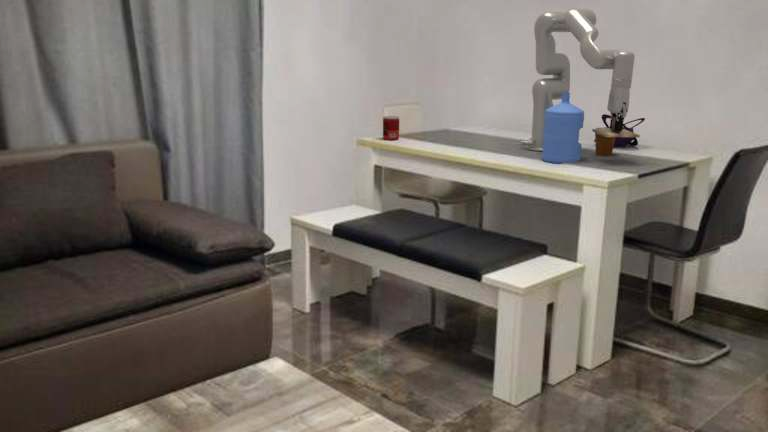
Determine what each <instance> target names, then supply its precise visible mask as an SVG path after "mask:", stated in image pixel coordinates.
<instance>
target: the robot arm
mask: <svg viewBox="0 0 768 432" xmlns="http://www.w3.org/2000/svg"><path fill="white" fill-rule="evenodd" d="M596 23H597V16H596V14H595V12H594V11H593V10H591V9H588V8H571V9H569V10H567V11H545V12H543V13H541V14H540V15H538V17H537V18H536V20H535V22H534V29H533V31H534V32H533V33H534V39H535V70H536V73H537V74H539V75H541V76H552V77H548V78H547V77H546V78H540V79H537V80H536V81H535V82H534V83H533V85H532V88H531V92H532V103H533V106H532V108H533V109H532V125H531V137H530V138H529V139H527V140H520V145H521V146H527V150H530V151H535V152H543V141H544V140H543V136H544V126H545V112H546V109H548V108H550V107H553V106H555V105H554V102H553V101H556V100H557V101H558V100H562V92H569V93H570V88H571V63H570V60H569V58H568V56H567V55H566V54H565V53H561V52H556V41H555V38H554V37H555V36H554V35H553V34H552V33H570V34H572V35H573V37H575V39H576V40H577V41H578V42H579V51H580V55H581V56H582V58H583V60H584V61H585V62H586V63H587V64H588V65H589V66H590V68H592V69H594V70H612V76H611V83H610V84H611V85H610V91H609V94H608V96H609V97H608V101H607V108H606V109H607V111H608V112H610V116H611V119H610V123H609V127H610V129H611V128H612V119H613V117H616V121H615V127H614V131H622V129H623V124H624V122H625V118H626V116H628V115H627V113H628V112H629V106H630V95H631V94H630V89H631V88H632V81H633V72H634V63H635V54H634V52H630V51H620V50H616V49H599V47H597V46H596V45H595V43H594V42H595V40H597V39H598V36H599V30H598V28H597V27H596ZM619 112H622V113H619Z"/></svg>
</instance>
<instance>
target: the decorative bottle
mask: <svg viewBox="0 0 768 432" xmlns="http://www.w3.org/2000/svg"><path fill="white" fill-rule="evenodd" d="M619 113H622V112H619ZM607 119H610V120H611V114H607V113H603V114H602V115H601V120H602V122H603V124H604V125H605V127H604V128H610V125H609V123H608V122H607ZM645 120H646V118H645V117H642V118H641V117H640V118H637V119H633V120H631V121H630V120H629V121H628V122H626V123H623V129H625V130H628V131H630V132H633V133H635V132H634V128H635V127H637V126H639V125H640V124H641V123H643V122H644V121H645ZM638 121H639V122H638ZM633 122H638V123H636V124H635V125H633V126H631V127H627V125H628V124H630V123H633ZM637 138H638V137H616V138H615V142H614V147H613V148H619V147H621V148H626V147H627V146H628V145H630V146H633V147H636V146H638V144H639V142H638V139H637ZM593 142H594V143H596V141H595V139H594V140H593Z"/></svg>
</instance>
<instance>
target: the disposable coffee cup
mask: <svg viewBox="0 0 768 432" xmlns="http://www.w3.org/2000/svg"><path fill="white" fill-rule="evenodd" d="M595 129H610V128H605V127H596V128H595ZM594 134H595V135H594V136H595V137H594V140H595V141H596V142H595V155H597V156H600V157H601V156H603V157H604V156H605V157H609V156H611V157H612V155H613V151H614V148H615V147H614V142H615V138H616V137H605V136H602V135H600V134H598V133H595V132H594Z"/></svg>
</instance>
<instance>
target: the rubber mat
mask: <svg viewBox="0 0 768 432" xmlns="http://www.w3.org/2000/svg"><path fill="white" fill-rule="evenodd" d="M586 160H588V161H589V162H591V163H594V164H596V165H598V166H600V167H610V166H611V167H619V166H620V167H623V166H625V167H628V166H629V167H636V166H637V167H638V166H640V167H641V166H645V165H644V164H642V163H641V162H640V163H639V162H637V161H634V160H632V159H630V158H622V157H621V158H586Z"/></svg>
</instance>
